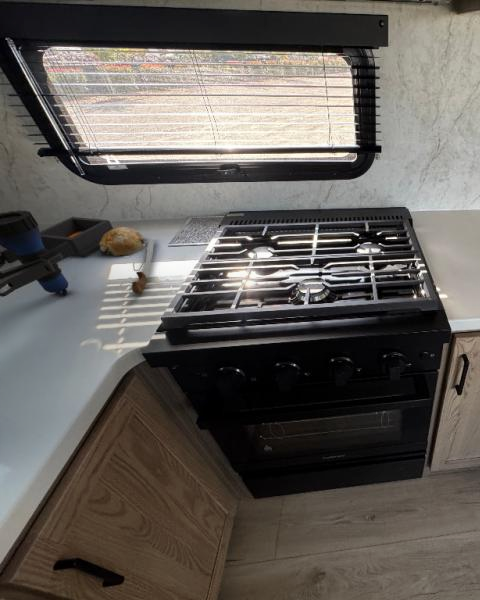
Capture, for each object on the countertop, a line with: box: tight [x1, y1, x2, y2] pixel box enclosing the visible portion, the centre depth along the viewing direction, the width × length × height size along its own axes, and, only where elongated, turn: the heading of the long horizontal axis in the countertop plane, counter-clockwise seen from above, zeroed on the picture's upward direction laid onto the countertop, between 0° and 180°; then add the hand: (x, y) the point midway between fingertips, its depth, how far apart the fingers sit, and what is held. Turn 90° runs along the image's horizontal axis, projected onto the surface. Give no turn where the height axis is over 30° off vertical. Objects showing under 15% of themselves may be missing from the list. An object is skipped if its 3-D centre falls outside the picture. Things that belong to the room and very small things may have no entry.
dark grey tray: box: [40, 216, 114, 258], centre depth 100 cm, size 15×13×6 cm
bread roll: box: [99, 226, 146, 257], centre depth 99 cm, size 10×10×8 cm
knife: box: [131, 239, 155, 294], centre depth 91 cm, size 4×1×30 cm
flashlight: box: [0, 210, 69, 297], centre depth 76 cm, size 8×8×20 cm
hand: (52, 245), depth 79 cm, fingers open, 9 cm apart
